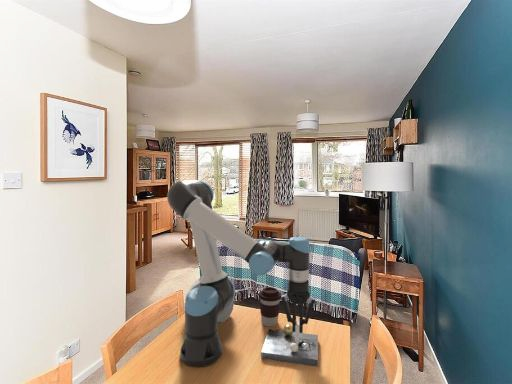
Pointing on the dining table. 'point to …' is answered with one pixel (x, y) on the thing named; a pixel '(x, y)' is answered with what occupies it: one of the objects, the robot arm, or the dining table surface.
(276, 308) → the coffee cup
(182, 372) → the dining table surface
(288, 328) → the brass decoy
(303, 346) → the steel ball
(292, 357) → the plate
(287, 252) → the robot arm
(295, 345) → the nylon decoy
